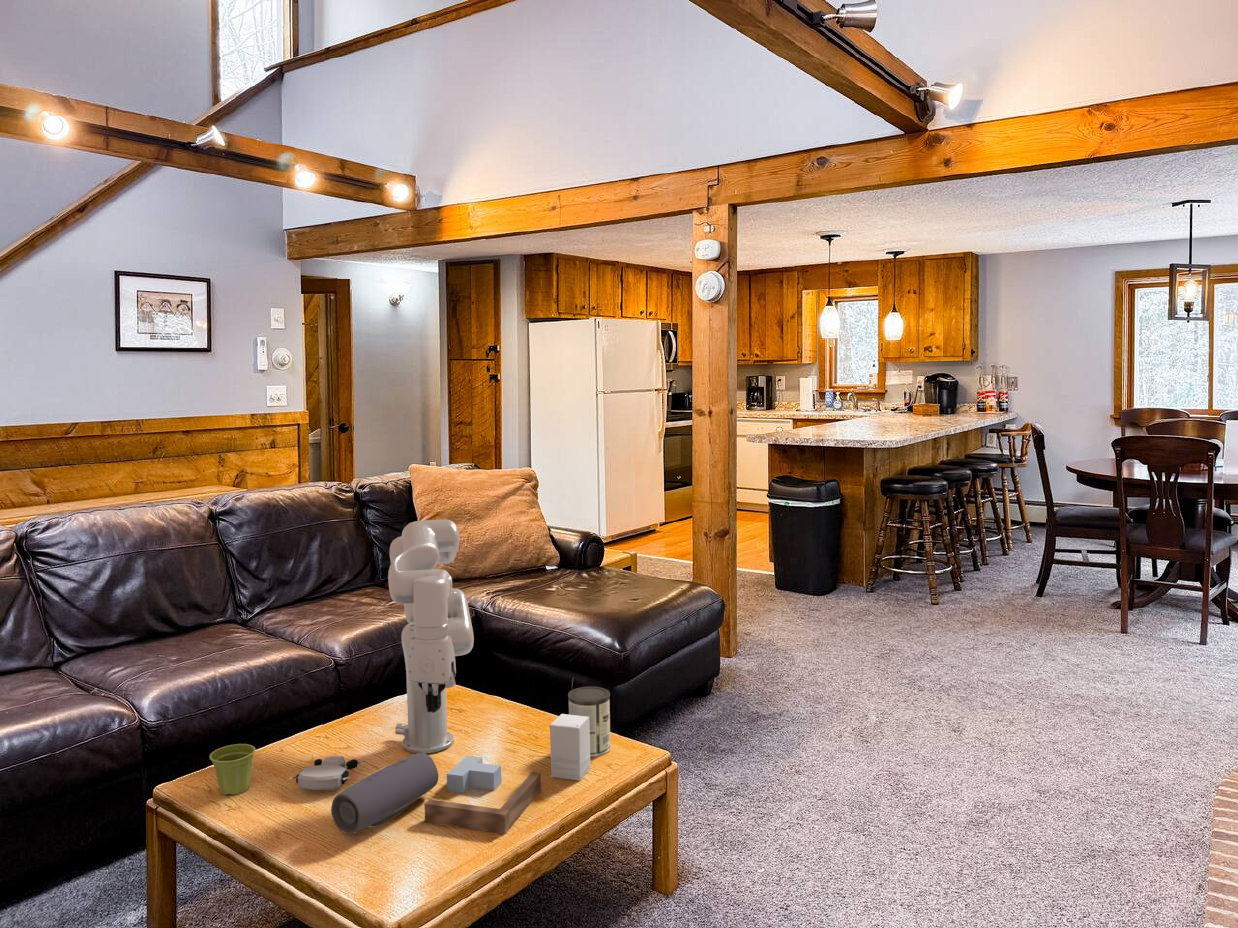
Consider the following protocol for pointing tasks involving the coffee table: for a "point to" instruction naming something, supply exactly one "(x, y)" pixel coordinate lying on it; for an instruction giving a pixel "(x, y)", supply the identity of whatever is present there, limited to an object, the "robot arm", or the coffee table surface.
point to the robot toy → (326, 773)
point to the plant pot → (233, 767)
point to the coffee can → (593, 715)
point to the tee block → (473, 775)
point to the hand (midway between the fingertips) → (433, 710)
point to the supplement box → (570, 747)
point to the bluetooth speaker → (384, 793)
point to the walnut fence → (485, 810)
